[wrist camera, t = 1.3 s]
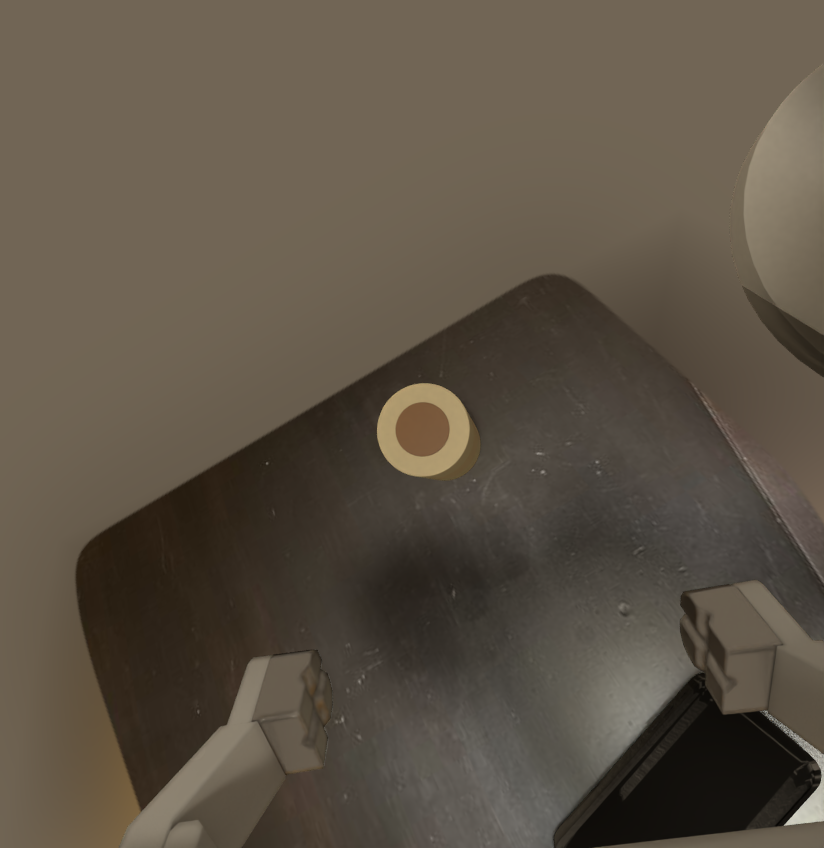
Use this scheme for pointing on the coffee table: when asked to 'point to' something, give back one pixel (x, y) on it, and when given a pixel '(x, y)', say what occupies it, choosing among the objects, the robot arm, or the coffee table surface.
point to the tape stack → (428, 433)
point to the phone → (695, 778)
